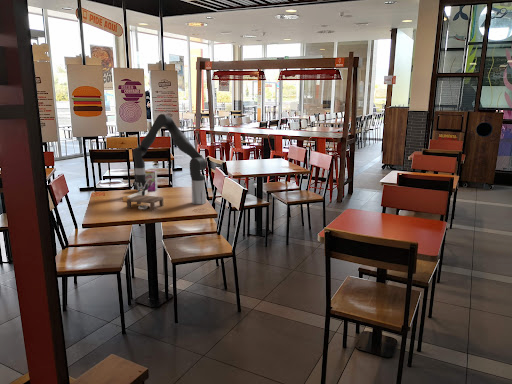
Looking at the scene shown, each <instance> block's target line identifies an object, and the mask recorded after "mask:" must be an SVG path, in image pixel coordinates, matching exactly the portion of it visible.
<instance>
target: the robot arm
mask: <svg viewBox="0 0 512 384" xmlns="http://www.w3.org/2000/svg"><path fill="white" fill-rule="evenodd" d="M162 128H165V129H166V130H167V131H168V132H169V133H170V134H171V137H172V138H171V139H172V141H173V143H174V144H175V146H176V147H177V149H178V150H179V151H181V152H182V153H184V154H186V155H187V156H189V157H190V158H191V159H190V161H189V175H190V178H191V204H193V205H204V204H206V203H207V193H206V192H207V191H206V187H205V185H206V183H205V175H203V174H201V172H202V171H201V170H204V169H206V168H207V165H208V164H207V161H206V159H205V157H203V156H202V155H201V153H200V152H199V151H198V150H197V149H196V148H195V147H194V146H193V144H192V143H191V142H190V140H189V139H188V138H187V137H186V135H185V134H184V133H183V132H182V130H181V129H179V127H178V126H177V124H176V122H175V120H174V119H173V118H172V117H171V116H170V115H167V114H165V113H161V114H158V115H157V117H156V119H154V122H153V123H152V126H151V128H150V129H149V131H148V133H147V134H146V135H145V136H144V138H143V139H142V140H141V142H140V145H139V146H138V147H135V148H134V149H133V150H132V156H133V160H134V168H135V169H134V173H135V174H134V177H135V181H134V182H133V183H132V186H133V188H134V190H135V191H137V192H140V191H142V195H144V196H146V195H145V190H147V189H148V186H149V183H146V174H145V170H146V166H145V165H146V163H145V160H144V159H143V157H144V155H146V153H147V152H148V150H149V148H150V147H151V146H152V144H153V143H154V142H155V140H156V137H157V134H158V132H159V131H160V130H161V129H162ZM145 184H146V185H145Z"/></svg>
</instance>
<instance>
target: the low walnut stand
mask: <svg viewBox="0 0 512 384" xmlns="http://www.w3.org/2000/svg"><path fill="white" fill-rule="evenodd" d="M158 202H159V207H164V206H165V205H164V204H165V203H164V197H163V196H154V195H153V196H152V195H137V196H134V197H132V198H129V199H127V201H126V208H127V209H132V203H136V204H137V205H142V203H143V204H149V207H150V212H151V211H152V212H153V211H155V209H156V207H155V203H158Z"/></svg>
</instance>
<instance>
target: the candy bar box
mask: <svg viewBox="0 0 512 384" xmlns="http://www.w3.org/2000/svg"><path fill="white" fill-rule="evenodd" d="M145 174H146V183H149V186H148V189H147V190H148V192H156V191H158V172H157V170H153V169H152V170H150V169H145ZM145 185H146V184H145Z"/></svg>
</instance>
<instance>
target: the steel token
mask: <svg viewBox="0 0 512 384" xmlns="http://www.w3.org/2000/svg"><path fill="white" fill-rule="evenodd" d="M137 208H138V210H141V209H143V210H147V209H148V205H143V204H141V205H139V206H138V207H137Z"/></svg>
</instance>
